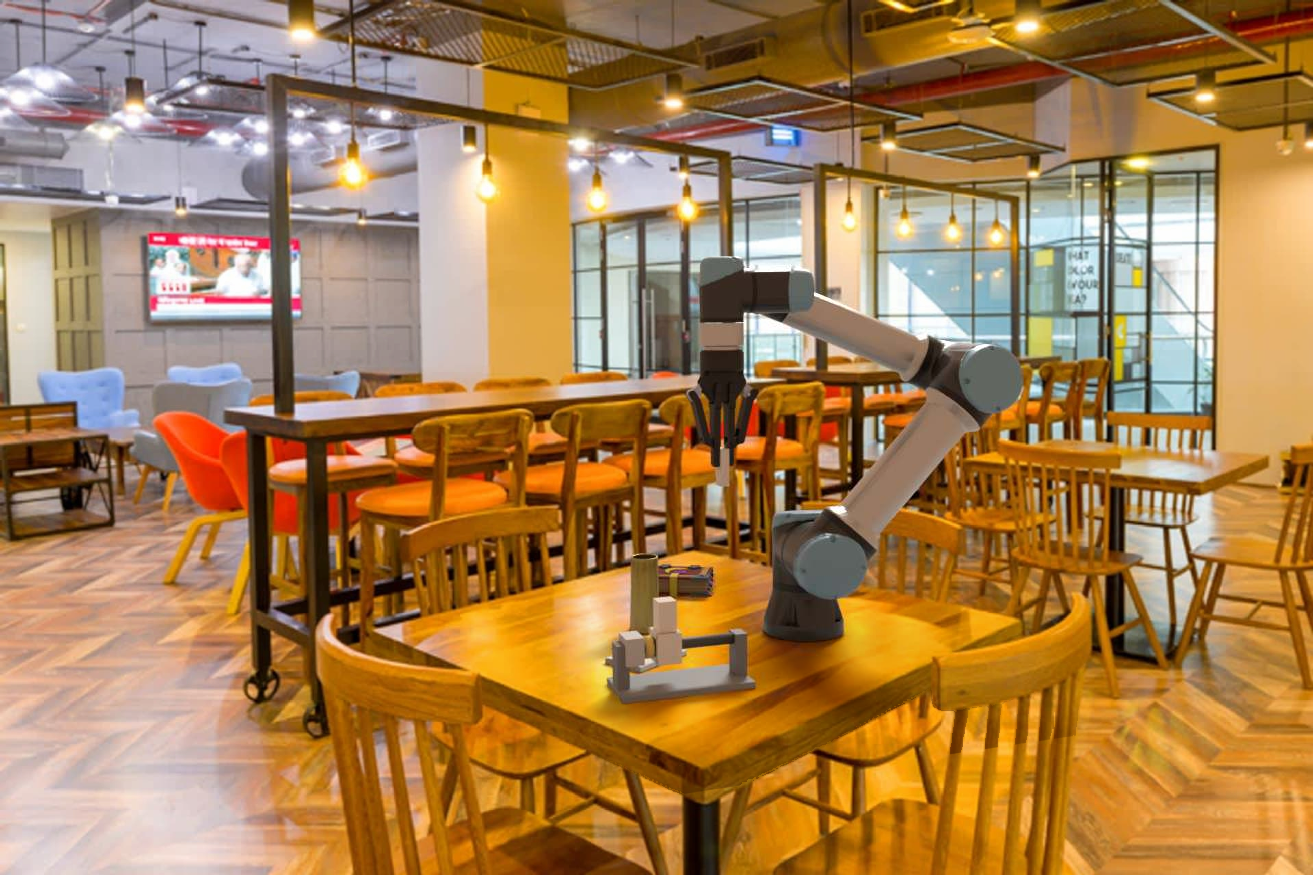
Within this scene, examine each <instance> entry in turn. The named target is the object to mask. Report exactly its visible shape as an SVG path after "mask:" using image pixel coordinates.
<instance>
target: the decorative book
mask: <svg viewBox="0 0 1313 875" xmlns="http://www.w3.org/2000/svg"><path fill="white" fill-rule="evenodd" d="M658 578H659V596H660V595H663V596H664V595H665V596H666V595H667V596H669V597H678V596H690V597H696V598H697V597H700V598H701V597H702V598H709V596H711V597H713V596H714V594H713V593H712V592H711V591H713V588H715V589H716V588H717V586H716V584H715V583H716V579H715V578H716V575H715V572H714V567H713V566H701V564H700V565H699V564H690V565H689V566H685V565H684V566H683V565H681V566H680V565H676V566H675V565H671V563H670V564H667V563H666V564H665V563H664V564H663V563H662V564H661V565H658Z"/></svg>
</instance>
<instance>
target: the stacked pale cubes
mask: <svg viewBox="0 0 1313 875" xmlns="http://www.w3.org/2000/svg"><path fill="white" fill-rule="evenodd" d="M677 601H678V600H677V599H675V598H673V596H663V597H662V596H661V597H660V596H659V598H653V626H654V627H649V633H648V636H649V635H651V636H652V638H653V641H656V652H655V654H654V657H653V658H651V659H652V660H653V661H654V662H655V663H656V664H657V665H658V666H657V667H662V666H670V665H679V664H682V663H683V657H682V638H683V632H682V631H680V630H679V629H678V615H677V614H678V602H677Z"/></svg>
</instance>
